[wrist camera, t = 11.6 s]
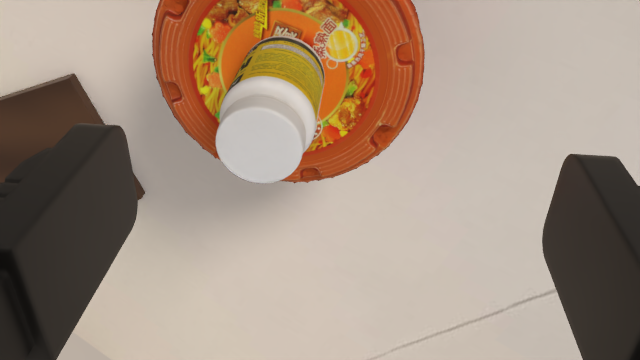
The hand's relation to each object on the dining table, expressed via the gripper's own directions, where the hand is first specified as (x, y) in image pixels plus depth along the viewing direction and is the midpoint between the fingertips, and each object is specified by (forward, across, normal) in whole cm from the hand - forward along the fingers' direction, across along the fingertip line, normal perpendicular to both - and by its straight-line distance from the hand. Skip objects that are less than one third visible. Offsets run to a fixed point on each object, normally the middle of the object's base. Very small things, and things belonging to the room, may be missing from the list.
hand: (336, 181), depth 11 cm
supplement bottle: (+21, +4, +7) cm, 23 cm away
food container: (+32, +4, +7) cm, 33 cm away
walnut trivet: (+32, +26, +20) cm, 46 cm away
